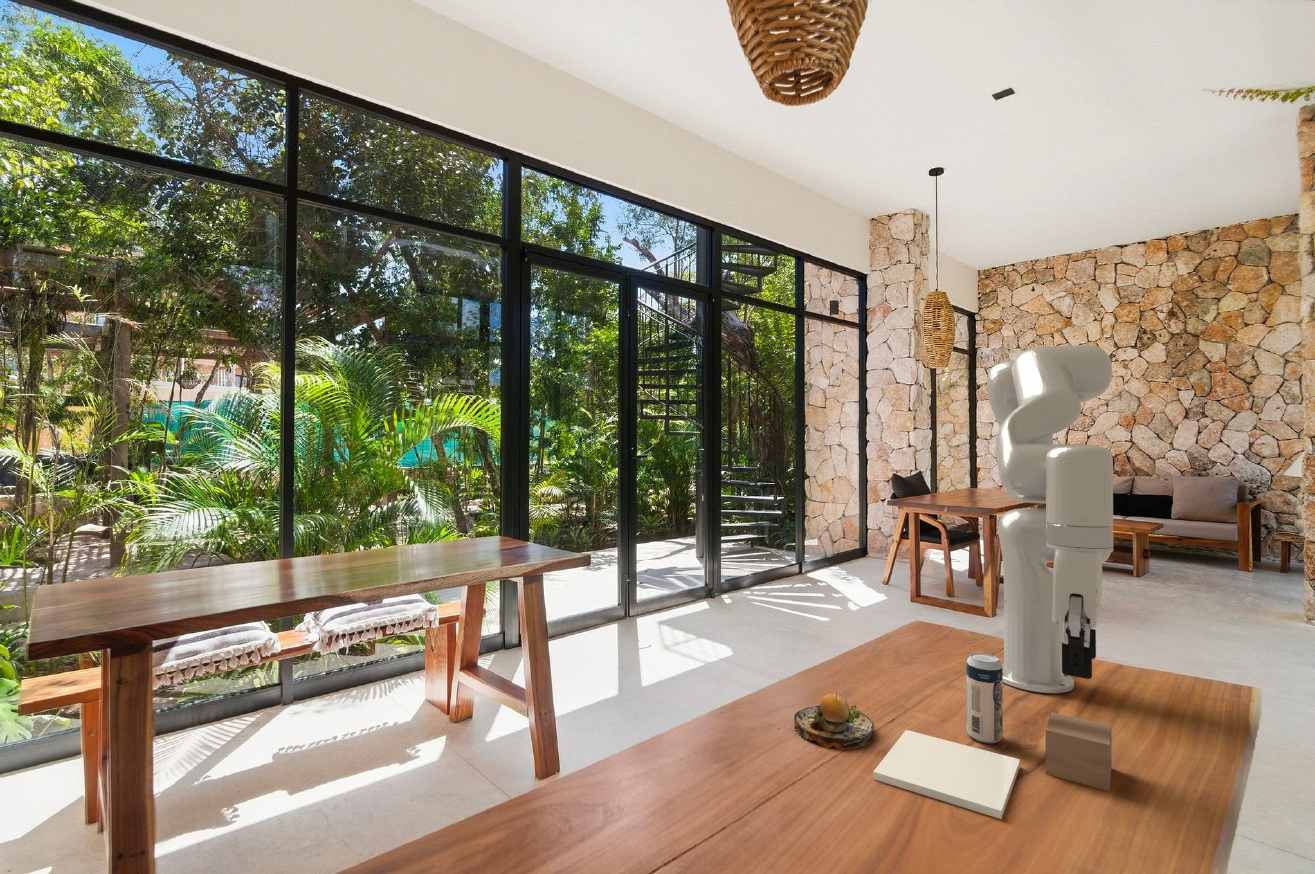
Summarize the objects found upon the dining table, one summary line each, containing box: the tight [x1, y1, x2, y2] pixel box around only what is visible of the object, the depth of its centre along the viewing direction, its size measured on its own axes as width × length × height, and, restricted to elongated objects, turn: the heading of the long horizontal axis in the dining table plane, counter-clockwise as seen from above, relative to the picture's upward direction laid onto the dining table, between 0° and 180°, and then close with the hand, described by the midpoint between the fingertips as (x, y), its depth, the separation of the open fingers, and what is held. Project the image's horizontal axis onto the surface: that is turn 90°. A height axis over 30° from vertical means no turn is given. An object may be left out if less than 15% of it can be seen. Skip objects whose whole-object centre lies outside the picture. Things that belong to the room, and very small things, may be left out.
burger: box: [793, 692, 876, 750], centre depth 99 cm, size 12×12×8 cm
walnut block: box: [1045, 711, 1113, 792], centre depth 87 cm, size 7×7×6 cm
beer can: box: [966, 652, 1004, 744], centre depth 96 cm, size 5×5×12 cm
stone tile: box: [872, 729, 1021, 820], centre depth 86 cm, size 15×15×1 cm
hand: (1079, 665), depth 86 cm, fingers open, 9 cm apart
